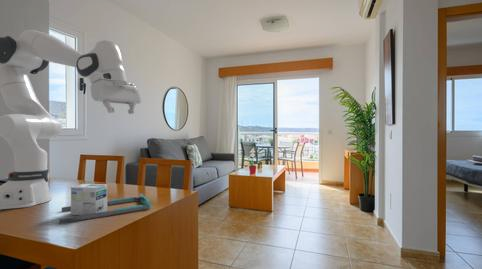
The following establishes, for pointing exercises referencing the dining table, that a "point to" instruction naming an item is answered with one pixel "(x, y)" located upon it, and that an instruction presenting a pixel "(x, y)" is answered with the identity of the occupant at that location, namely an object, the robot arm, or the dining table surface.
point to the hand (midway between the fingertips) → (121, 113)
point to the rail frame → (117, 211)
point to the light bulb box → (88, 199)
